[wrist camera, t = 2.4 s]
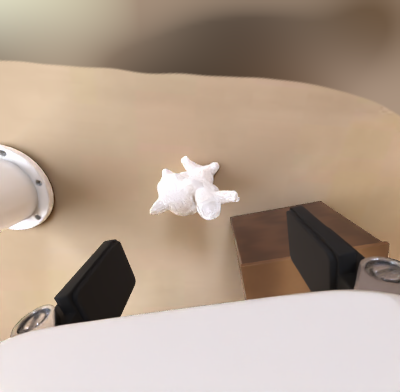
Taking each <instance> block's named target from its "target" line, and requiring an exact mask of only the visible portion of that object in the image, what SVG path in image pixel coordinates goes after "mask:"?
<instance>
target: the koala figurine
mask: <svg viewBox="0 0 400 392" xmlns="http://www.w3.org/2000/svg"><path fill="white" fill-rule="evenodd" d="M181 162H182V164H183V166H184V168H185V169H186V170H187V171H185V172H181V173H179V174H177V173H173V172H172V171H171V170H168V169H164V170H163V171H162V178H161V180H160V182H159V183H158V185H157V190H158V196H159V197H158V199H157V201H156V202H154V204H153V206H152V208H151V209H150V214H151V215H158V214H161V213H164V212H165V211H168V210H170V211H172V212H173V213H174V214H176V215H179V216H187V215H191V214H195V213H196V212H198V213H199V215H200V216H201V217H202V218H203V219H205V220H212V219H215V218H216V217H218V216H219V214H220V211H221V205H222V204H225V203H228V202H238V201H239V199H240V198H239V197H238V194H237V192H236V191H227V190H226V191H219V189H218V188H217V187H216V186H215V185H213V176H214V174H215V173H216V172H217V171H218V169H219V164H218V163H217V162H213V163H211V164H210V165H205V166H201V165H199V164H196V163H195V162H193V161H191V160H190V159H189V158H188V157H187V156H184V157H183V158H182V159H181Z"/></svg>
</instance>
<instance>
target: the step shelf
mask: <svg viewBox="0 0 400 392" xmlns="http://www.w3.org/2000/svg"><path fill="white" fill-rule="evenodd" d="M296 206H303V207H305V208H306V209H307V210H308V211H309V212H310V213H312V214H313V215H314V216H315V217H316V218H317V219H319V220H320V221H321V222H322V223H323V224H324V225H326V226H327V227H329V228H331V229H332V230H333V231H334V232H335V233H337V234H338V235H339V236H340V237H341V238H343V239H344V240H345V241H346V242H347V243H348V244H350V245H351V246H352V247H353V248H354V249H356V250H357V251H358V252H359V253H360V254H362V255H363V256H364V257H365V258H367V257H374V256H380V257H387V258H388V253H389V243H388V242H381V241H380V240H378V239H377V238H375V237H374V236H372V235H371V234H369V233H368V232H366V231H365V230H363V229H362V228H360V227H359V226H357V225H356V224H354V223H353V222H351V221H350V220H348V219H347V218H345V217H344V216H342V215H341V214H339V213H338V212H336V211H335V210H333V209H332V208H330V207H329V206H327V205H326V204H324V203H323V202H321V201H318V202H312V203H307V204H301V205H296ZM296 206H290V207H285V208H279V209H274V210H268V211H263V212H257V213H252V214H246V215H241V216H235V217H230V219H231V225H232V230H233V235H234V241H235V246H236V251H237V257H238V262H239V268H240V273H241V278H242V284H243V289H244V294H245V300H250V299H258V298H265V297H273V296H281V295H289V294H296V293H306V292H311V291H310V289H309V287H308V286H307V284H306V283H305V281H304V279H303V278H302V276H301V274H300V273H299V271H298V270H297V268H296V266H295V265H294V263H293V262H292V260H291V257H290V251H289V239H288V227H287V216H286V212H287V211H289V210H290V208H291V207H296Z"/></svg>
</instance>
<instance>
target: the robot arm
mask: <svg viewBox="0 0 400 392" xmlns="http://www.w3.org/2000/svg"><path fill="white" fill-rule="evenodd" d="M53 203H54V198H53V191H52V187H51V184H50V182H49V180H48V178H47V176H46V175H45V173H44V172H43V170H42V169H41V168H40V167H39V166H38V164H37V163H36V162H34V161H33V160H32V159H31V158H30V157H28V156H27V155H25V154H24V153H22V152H21V151H18V150H16V149H14V148H12V147H8V146H4V145H0V232H2V231H4V230H6V229H8V228H9V229H15V230H24V229H29V228H32V227H35V226H37V225H38V224H40V223H42V222H43V221H44V220H46V219H47V217H48V216H49V215H50V213H51V211H52V208H53ZM286 216H287V227H288V239H289V251H290V257H291V260H292V262H293V263H294V265H295V266H296V268H297V270H298V271H299V273H300V274H301V276H302V278H303V279H304V281H305V283H306V284H307V286H308V287H309V289H310V291H311V292H306V293H296V294H289V295H281V296H273V297H265V298H258V299H250V300H242V301H234V302H227V303H219V304H212V305H204V306H196V307H189V308H181V309H174V310H167V311H159V312H152V313H145V314H137V315H130V316H123V317H120V316H121V314H122V312H123V310H124V308H125V305H126V303H127V301H128V299H129V297H130V294H131V292H132V290H133V288H134V286H135V277H134V274H133V272H132V269H131V267H130V265H129V262H128V260H127V257H126V255H125V253H124V250H123V248H122V245H121V243H120V242H119V241H117V240H109V241H105V242H103V244H102V245H101V246H100V247H99V248H98V249H97V250H96V251H95V253H94V254H93V255H92V256H91V257H90V258H89V259H88V260H87V262H86V263H85V264H84V265H83V266H82V267H81V268H80V269H79V271H78V272H77V273H76V274H75V275H74V276H73V277H72V278H71V280H70V281H69V282H68V283H67V284H66V285H65V286H64V287H63V289H62V290H61V291H60V292H59V293H58V294H57V295H56V296H55V298H54V299H55V301H56V302H57V305H56V307H55V308H54V306H53V305H44V306H41V307H39V308H37V309H35V310H33V311H32V312H30V313H28V314H27V315H26V316H25V317H23V318H22V319H21V320H20V321H19V322H18V323H17V324H16V325H15V327H14V328H13V330H12V332H11V336H10V338H9V339H6V340H4V341H1V342H0V392H400V261H398V260H395V259H391V258H387V257H380V256H374V257H367V258H365V257H364V256H363V255H362V254H360V253H359V252H358V251H357V250H356V249H354V248H353V247H352V246H351V245H350V244H348V243H347V242H346V241H345V240H344V239H343V238H341V237H340V236H339V235H338V234H337V233H335V232H334V231H333V230H332V229H331V228H329V227H327V226H326V225H324V224H323V223H322V222H321V221H320V220H319V219H317V218H316V217H315V216H314V215H313V214H312V213H310V212H309V211H308V210H307V209H306V208H305V207H303V206H296V207H291V208H290V210H289V211H287V212H286Z"/></svg>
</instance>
